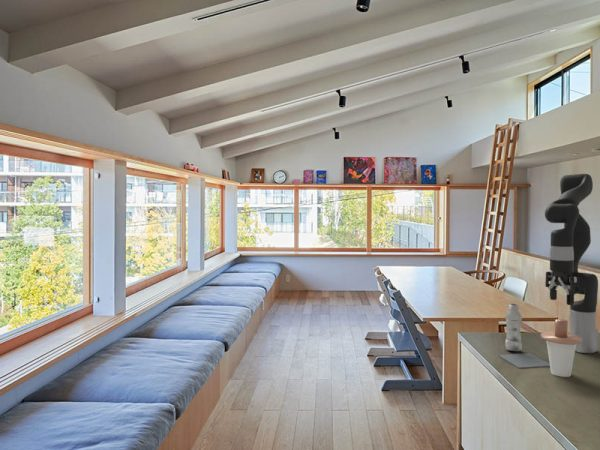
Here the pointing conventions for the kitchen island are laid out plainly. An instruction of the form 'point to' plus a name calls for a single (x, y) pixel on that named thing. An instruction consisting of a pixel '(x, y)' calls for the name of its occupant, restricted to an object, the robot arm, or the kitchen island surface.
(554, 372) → the foam cup
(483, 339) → the kitchen island surface
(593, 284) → the robot arm
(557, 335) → the lid
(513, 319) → the plastic bottle
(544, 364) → the mat
